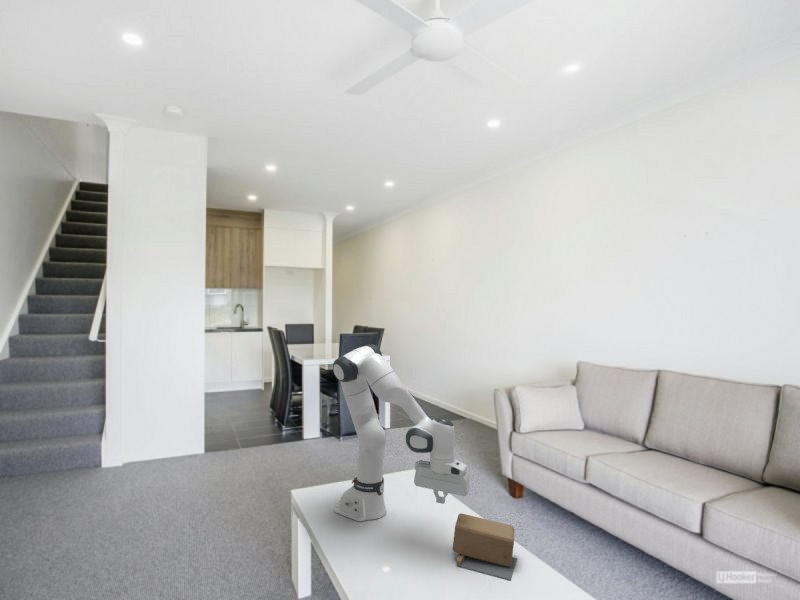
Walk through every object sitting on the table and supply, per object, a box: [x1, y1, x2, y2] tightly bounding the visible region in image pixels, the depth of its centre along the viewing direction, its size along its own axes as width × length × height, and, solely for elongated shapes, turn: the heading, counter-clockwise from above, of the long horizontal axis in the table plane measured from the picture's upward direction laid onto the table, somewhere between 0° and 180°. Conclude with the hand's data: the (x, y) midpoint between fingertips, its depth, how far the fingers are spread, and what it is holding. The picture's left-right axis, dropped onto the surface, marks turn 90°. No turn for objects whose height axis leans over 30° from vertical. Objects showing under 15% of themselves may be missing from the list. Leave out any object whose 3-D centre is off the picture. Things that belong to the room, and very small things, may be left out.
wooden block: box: [452, 513, 515, 567], centre depth 151 cm, size 10×10×20 cm
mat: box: [455, 554, 518, 581], centre depth 147 cm, size 18×13×2 cm
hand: (440, 502), depth 156 cm, fingers closed
